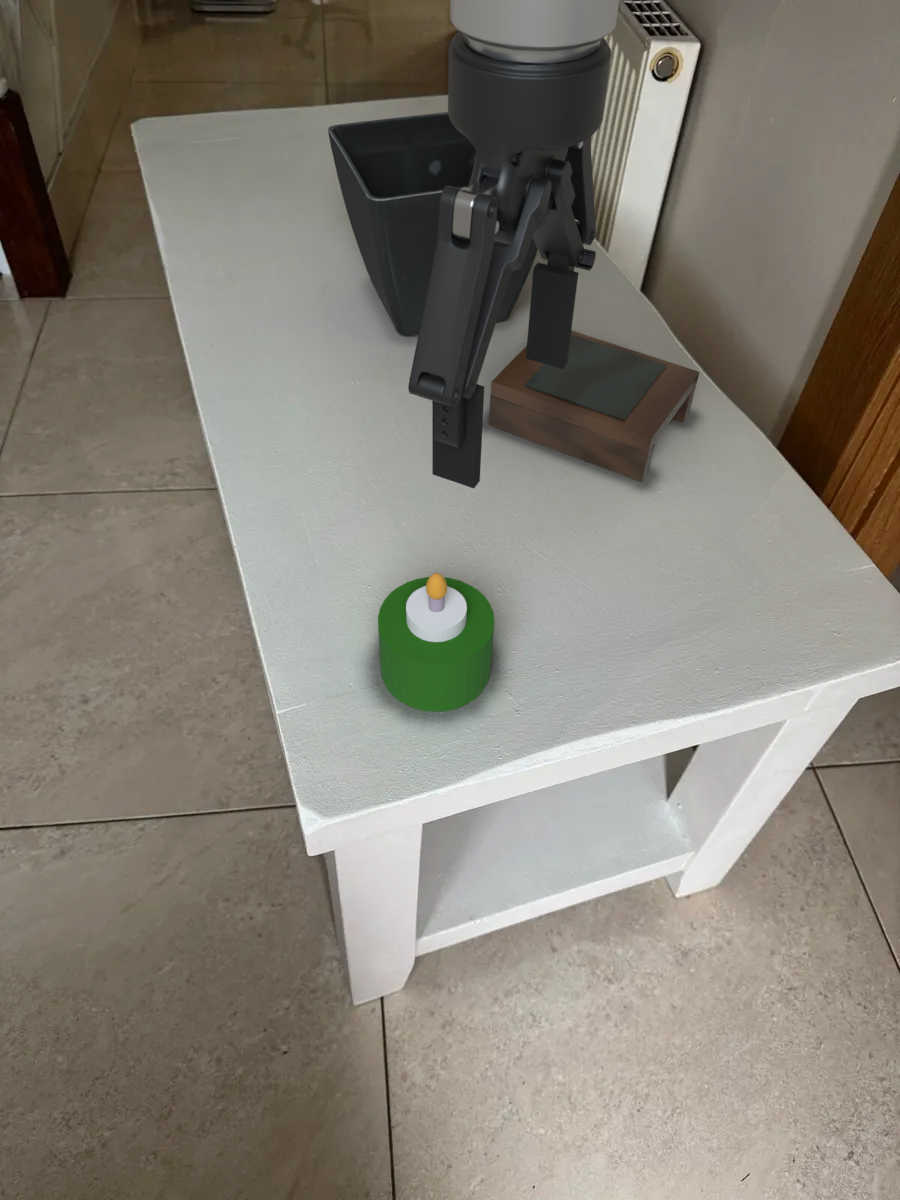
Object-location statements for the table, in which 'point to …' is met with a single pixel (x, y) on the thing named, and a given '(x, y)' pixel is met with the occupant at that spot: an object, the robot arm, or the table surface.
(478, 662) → the candle
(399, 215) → the flower pot
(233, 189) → the table surface
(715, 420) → the table surface
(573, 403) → the small stand
